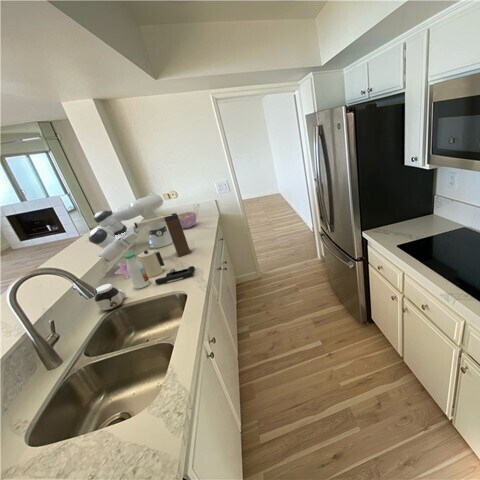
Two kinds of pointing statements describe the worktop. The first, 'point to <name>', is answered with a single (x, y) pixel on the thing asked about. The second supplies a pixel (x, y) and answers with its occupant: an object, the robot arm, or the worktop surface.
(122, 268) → the lily
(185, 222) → the bowl of food
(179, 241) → the stand
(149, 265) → the kettle
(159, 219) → the switch bar
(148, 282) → the milk bottle
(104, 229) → the robot arm
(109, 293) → the spread jar
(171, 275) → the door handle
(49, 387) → the worktop surface
